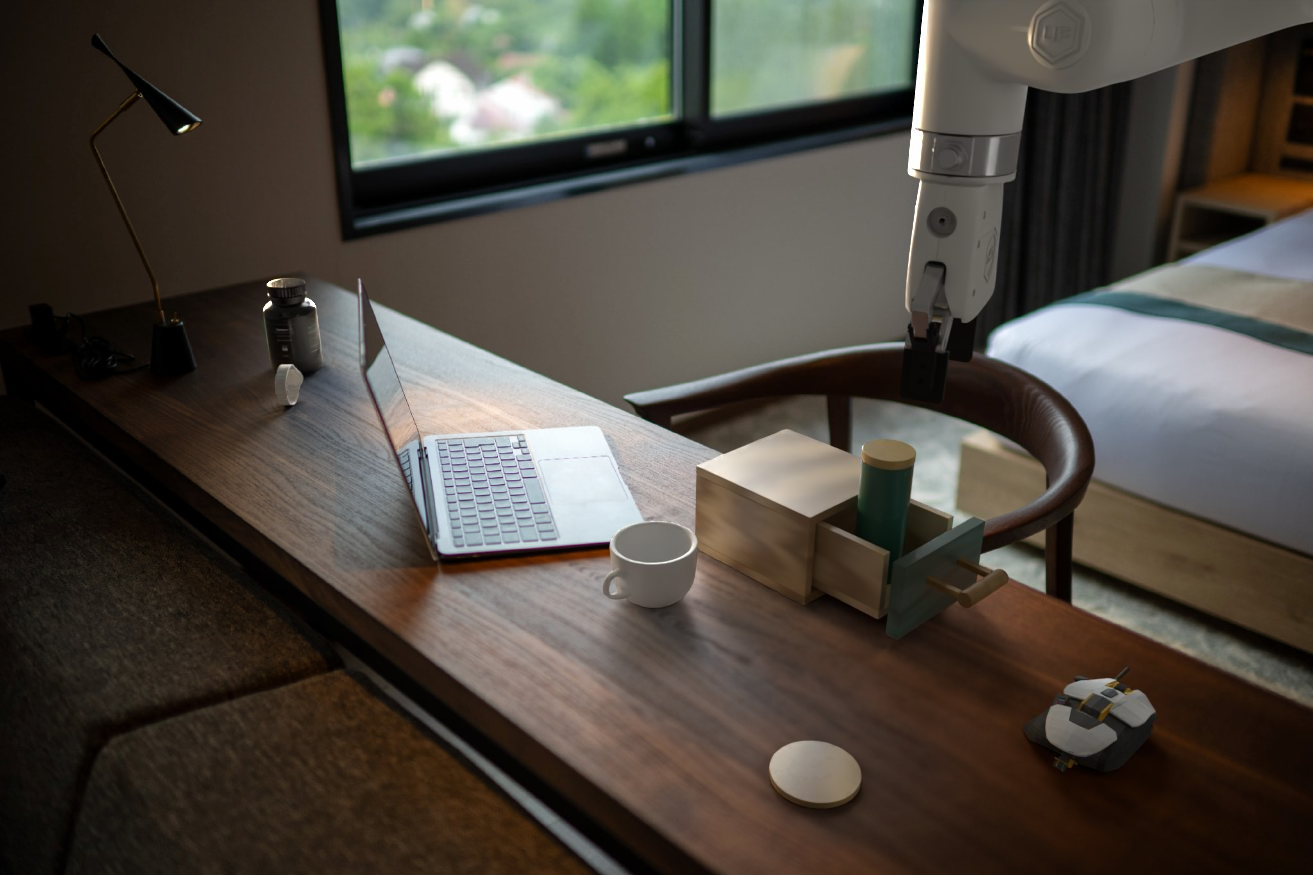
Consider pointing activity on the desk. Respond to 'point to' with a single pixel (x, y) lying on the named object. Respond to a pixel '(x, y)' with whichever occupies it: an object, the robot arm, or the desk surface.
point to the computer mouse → (1094, 724)
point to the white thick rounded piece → (287, 384)
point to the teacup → (652, 563)
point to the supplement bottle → (292, 326)
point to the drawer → (904, 567)
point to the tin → (885, 496)
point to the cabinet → (773, 507)
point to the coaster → (815, 774)
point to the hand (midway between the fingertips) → (937, 378)
